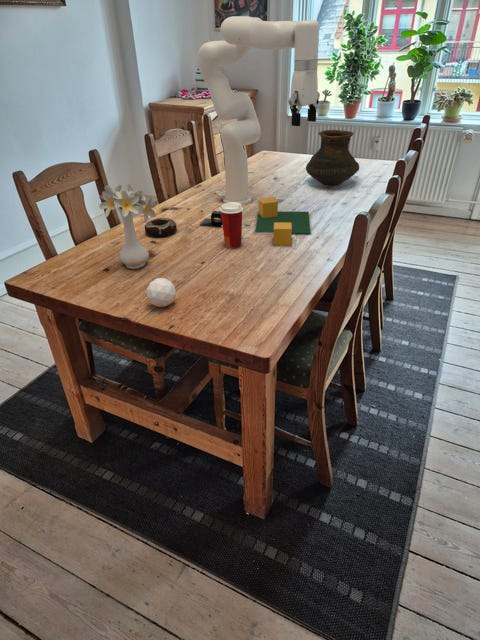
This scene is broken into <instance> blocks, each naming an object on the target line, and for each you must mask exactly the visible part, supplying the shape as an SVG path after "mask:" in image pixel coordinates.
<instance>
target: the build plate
mask: <svg viewBox="0 0 480 640" xmlns="http://www.w3.org/2000/svg"><path fill="white" fill-rule="evenodd" d="M199 227H210V228H222V229H223V225H222V216H221V211H220V210H212V212H211V213H210V218H204V220H202V221H201V223H200V224H199Z"/></svg>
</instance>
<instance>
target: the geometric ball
mask: <svg viewBox="0 0 480 640" xmlns="http://www.w3.org/2000/svg"><path fill="white" fill-rule="evenodd" d="M176 291H177V290H176V287H175V286H174V283H173V282H172V281H171V280H169V279H167V278H165V277H157V278H155V279H153V280H152V281H150V282H149V284H148V285H147V288H146V297H147V299H148V301H149V302H150V304H151V305H153V306H155V307H158V308H163V307H167V306H169V305H171V304H172V303H173V302H174V300H175V298H176V295H177V294H176V293H177V292H176Z"/></svg>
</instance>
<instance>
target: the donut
mask: <svg viewBox="0 0 480 640" xmlns="http://www.w3.org/2000/svg"><path fill="white" fill-rule="evenodd" d="M176 230H177V223H176V221H174V219H172V218H169V217H157V218H153V219H149V220H147V222H146V223H145V225H144V231H145V233H146V234H147V235H148V236H151V237H156V238H161V237H167V236H171V235H172V234H174V233H175V232H176Z"/></svg>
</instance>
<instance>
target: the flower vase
mask: <svg viewBox="0 0 480 640" xmlns="http://www.w3.org/2000/svg"><path fill="white" fill-rule="evenodd" d="M122 187H123V186H122V185H121V184H118V185H116V186H115V187H114V189H113V188H112V187H111V186H110V185H105V186H104V190H103V191H102V194H101V195H99V197H98V198H99V200H104V201H103V202H101V203H100V204H99V206H98V208H99V209H100V210H105V215H104V216H105V217H106V218H108V217H109V215H110V213H111V211H114V210H115V209H116V207H117V210H118V212H119V213H120V217H121V219H122V224H123V230H124V244H123V245H122V248H121V249H120V251H119V253H118V259H119V262H121V263H122V264H123V265H125V267H126V268H127V269H130V270H137V269H141V268H143V267H144V266H145V265H146V262H147V261H148V259H149V257H150V252H149V251H148V249H147V247H145V246H144V245H143V244H142V243H141V242H140V241H139V239H138V236H137V233H136V229H135V224H134V218H133V217H134V216H133V214H136V215H138V214H140V210H139V208H138V207H140V208H142V211H141V214H143V221H144V223H145V224H146V223H147V222H148V221H149V217H150V218H153V219H154V218H155V217H156V212H155V210H154V209H153V208H156V207H157V205H158V203H159V201H158V200H154V201H153V198H152V197H149V198H148V200H147V198H146V196H145V195H144V194H143V190H142V189H140V188H139V186H138V185H136V190H134V188H133V185H132V184H131V183H127V190H122ZM146 200H147V201H146Z"/></svg>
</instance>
